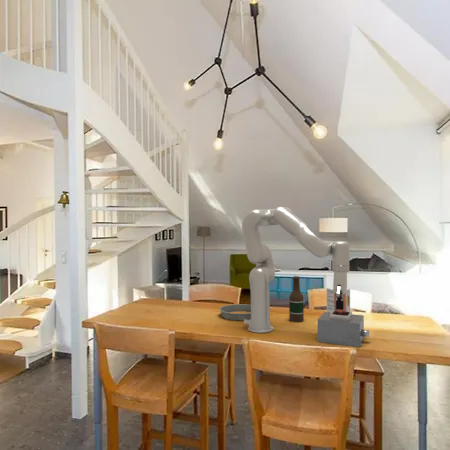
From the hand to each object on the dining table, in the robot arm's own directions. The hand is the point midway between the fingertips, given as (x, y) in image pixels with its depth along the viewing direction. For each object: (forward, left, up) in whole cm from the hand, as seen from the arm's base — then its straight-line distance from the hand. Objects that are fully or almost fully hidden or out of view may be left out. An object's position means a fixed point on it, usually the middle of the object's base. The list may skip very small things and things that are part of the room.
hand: (340, 307), depth 175 cm
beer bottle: (-27, +24, -15) cm, 39 cm away
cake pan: (-59, +22, -15) cm, 65 cm away
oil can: (0, 0, -6) cm, 6 cm away
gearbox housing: (+2, 0, -15) cm, 15 cm away
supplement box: (-7, +37, -15) cm, 40 cm away
